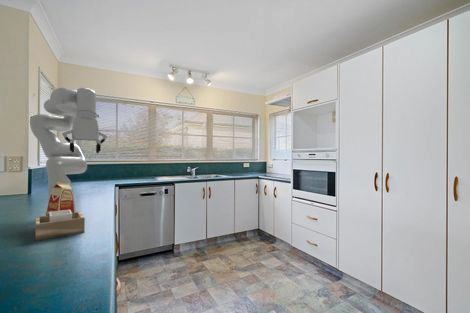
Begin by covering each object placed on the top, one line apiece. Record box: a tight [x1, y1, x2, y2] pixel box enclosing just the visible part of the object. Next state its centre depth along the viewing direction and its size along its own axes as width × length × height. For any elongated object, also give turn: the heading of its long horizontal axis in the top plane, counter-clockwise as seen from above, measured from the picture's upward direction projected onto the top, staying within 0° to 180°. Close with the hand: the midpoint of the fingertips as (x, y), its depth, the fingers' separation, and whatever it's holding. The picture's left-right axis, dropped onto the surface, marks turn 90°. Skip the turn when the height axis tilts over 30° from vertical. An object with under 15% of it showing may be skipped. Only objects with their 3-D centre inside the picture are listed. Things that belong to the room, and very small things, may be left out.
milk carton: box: [45, 181, 77, 216], centre depth 103 cm, size 9×9×20 cm
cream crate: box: [49, 210, 72, 222], centre depth 91 cm, size 9×7×7 cm
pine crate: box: [35, 211, 86, 242], centre depth 91 cm, size 14×15×6 cm
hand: (85, 152), depth 102 cm, fingers open, 9 cm apart
